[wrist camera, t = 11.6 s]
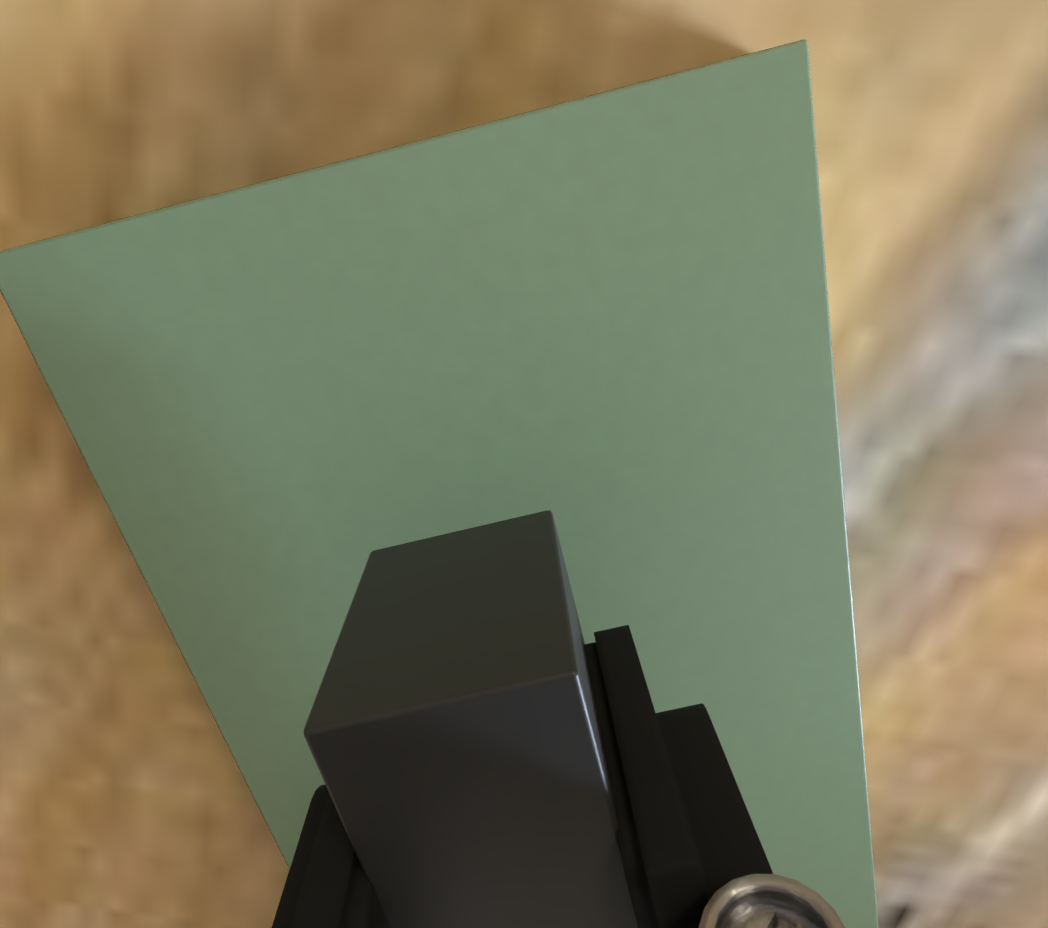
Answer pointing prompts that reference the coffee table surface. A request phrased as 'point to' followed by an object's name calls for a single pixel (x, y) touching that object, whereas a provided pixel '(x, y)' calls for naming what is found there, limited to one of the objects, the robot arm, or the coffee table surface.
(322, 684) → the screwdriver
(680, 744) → the robot arm
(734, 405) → the sage board
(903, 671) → the coffee table surface
